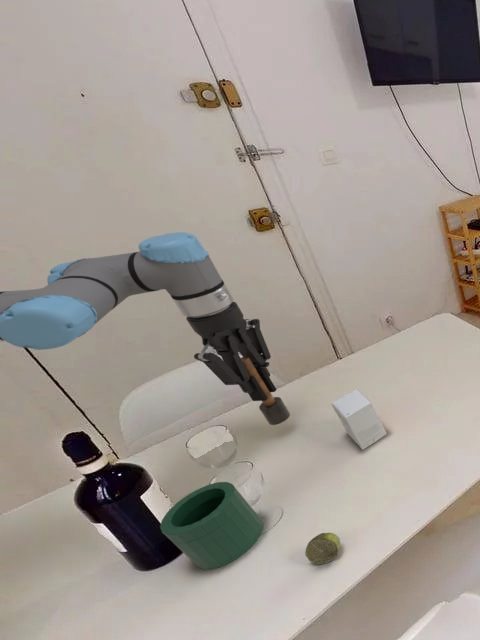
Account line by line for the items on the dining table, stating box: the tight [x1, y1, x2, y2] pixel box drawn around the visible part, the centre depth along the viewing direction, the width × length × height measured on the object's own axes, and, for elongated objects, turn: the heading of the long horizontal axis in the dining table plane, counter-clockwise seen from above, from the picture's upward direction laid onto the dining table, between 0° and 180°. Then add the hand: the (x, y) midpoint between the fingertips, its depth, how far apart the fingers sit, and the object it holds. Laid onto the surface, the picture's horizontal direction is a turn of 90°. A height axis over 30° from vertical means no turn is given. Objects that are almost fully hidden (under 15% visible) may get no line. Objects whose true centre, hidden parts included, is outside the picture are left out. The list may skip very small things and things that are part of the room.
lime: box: [304, 532, 341, 565], centre depth 72 cm, size 4×5×5 cm
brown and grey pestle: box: [240, 356, 291, 426], centre depth 92 cm, size 4×4×18 cm
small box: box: [330, 389, 388, 451], centre depth 95 cm, size 8×6×10 cm
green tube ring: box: [159, 481, 264, 571], centre depth 73 cm, size 9×9×11 cm
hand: (265, 395), depth 93 cm, fingers closed on brown and grey pestle, 2 cm apart
